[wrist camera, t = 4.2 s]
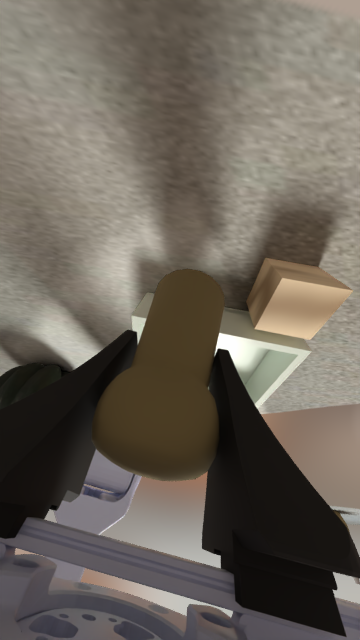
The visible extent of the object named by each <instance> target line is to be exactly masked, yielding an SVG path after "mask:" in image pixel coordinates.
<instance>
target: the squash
mask: <svg viewBox="0 0 360 640" xmlns="http://www.w3.org/2000/svg"><path fill="white" fill-rule="evenodd" d="M67 374H68V372H61V368H60V367H59V366H56V365H48V366H46V367H45V366H44V365H42V364H39V363H31V364H27V365H25V366H18V367H15V368H13V369H11V370H9V371H7V372H6V373H4V374H3V375H2V376H0V409H3V408H5V407H7V406H9V405H11V404H13V403H15V402H17V401H19V400H21V399H23V398H25V397H27V396H29V395H31V394H33V393H35V392H37V391H39V390H41V389H43V388H44V387H46V386H48V385H50V384H51V383H53V382H55V381H57V380H58V379H60V378H62V377H64V376H65V375H67Z"/></svg>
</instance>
